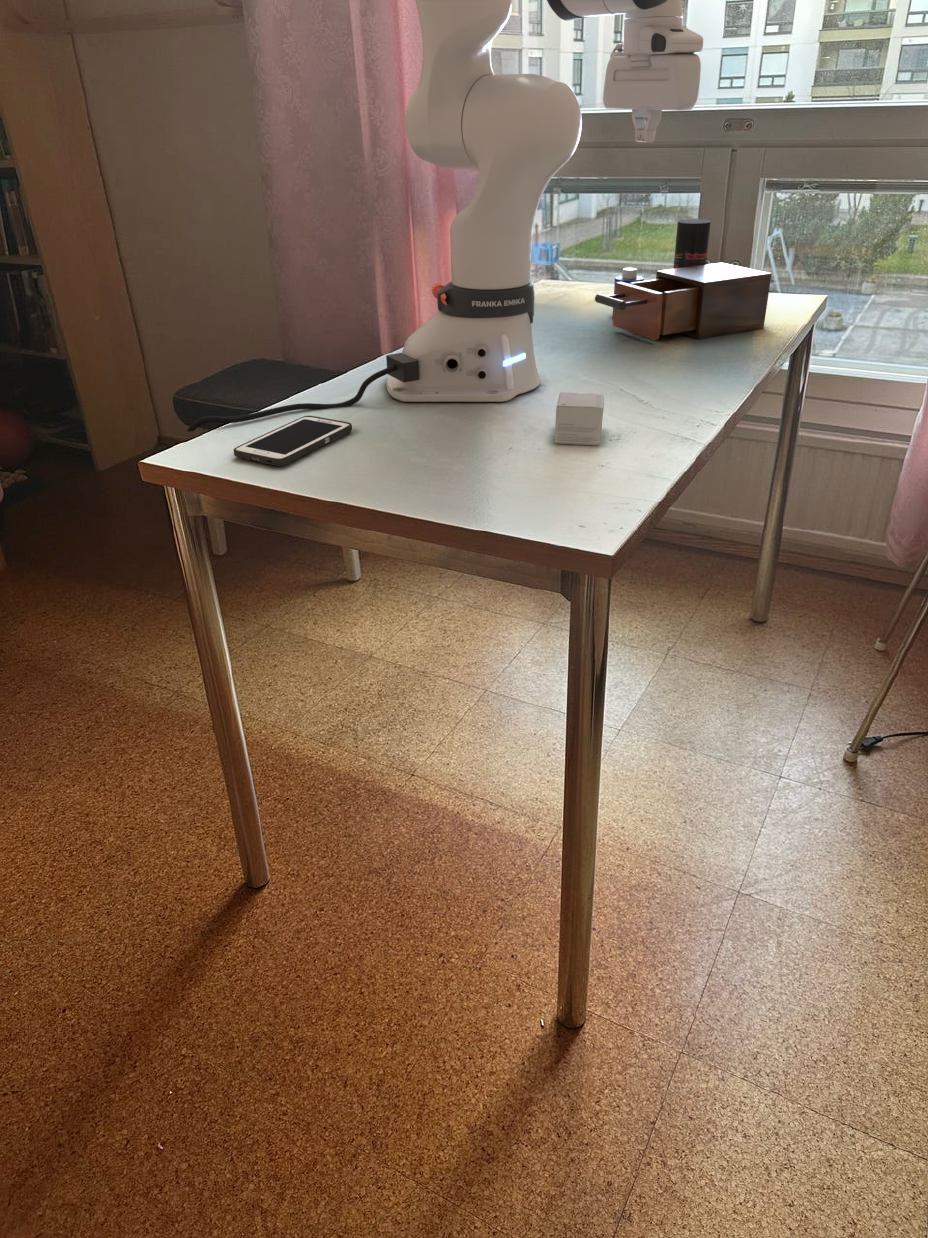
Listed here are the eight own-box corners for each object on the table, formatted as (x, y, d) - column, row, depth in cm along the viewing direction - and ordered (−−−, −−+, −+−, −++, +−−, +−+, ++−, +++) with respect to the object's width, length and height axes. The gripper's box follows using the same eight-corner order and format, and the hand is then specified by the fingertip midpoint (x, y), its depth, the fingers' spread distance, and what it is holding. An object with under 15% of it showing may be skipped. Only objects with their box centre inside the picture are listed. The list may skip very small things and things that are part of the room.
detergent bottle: (616, 321, 166) (619, 272, 161) (609, 314, 170) (612, 266, 166) (644, 319, 166) (648, 270, 162) (636, 313, 171) (639, 265, 166)
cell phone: (231, 457, 109) (229, 449, 109) (307, 421, 120) (306, 414, 120) (281, 468, 106) (280, 460, 105) (355, 430, 117) (354, 422, 116)
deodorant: (704, 308, 173) (713, 222, 166) (672, 308, 173) (680, 223, 166) (698, 301, 178) (706, 218, 171) (667, 301, 179) (675, 219, 171)
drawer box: (698, 338, 154) (704, 282, 149) (652, 324, 163) (656, 270, 159) (763, 327, 159) (771, 273, 155) (715, 314, 169) (721, 262, 164)
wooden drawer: (625, 344, 148) (628, 297, 144) (585, 330, 157) (587, 285, 153) (717, 329, 155) (722, 284, 152) (674, 316, 164) (678, 273, 160)
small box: (600, 446, 110) (603, 406, 108) (553, 444, 111) (554, 405, 109) (602, 430, 115) (604, 392, 113) (557, 428, 116) (558, 390, 114)
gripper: (596, 43, 147) (591, 140, 154) (677, 38, 131) (668, 145, 139) (628, 43, 150) (622, 138, 157) (711, 37, 134) (701, 143, 141)
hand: (644, 141), depth 148 cm, fingers closed
